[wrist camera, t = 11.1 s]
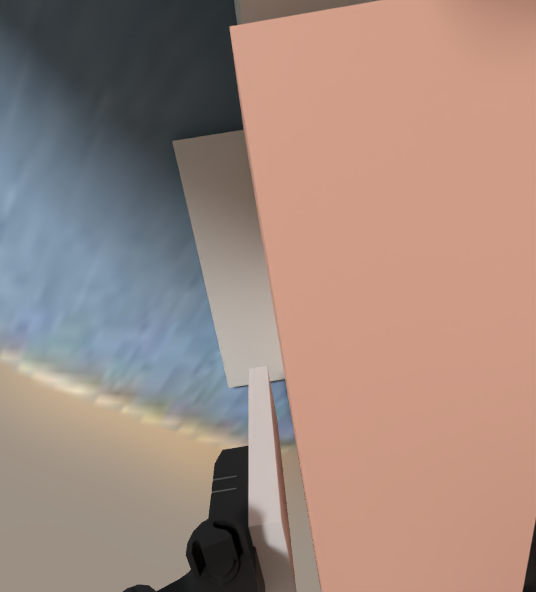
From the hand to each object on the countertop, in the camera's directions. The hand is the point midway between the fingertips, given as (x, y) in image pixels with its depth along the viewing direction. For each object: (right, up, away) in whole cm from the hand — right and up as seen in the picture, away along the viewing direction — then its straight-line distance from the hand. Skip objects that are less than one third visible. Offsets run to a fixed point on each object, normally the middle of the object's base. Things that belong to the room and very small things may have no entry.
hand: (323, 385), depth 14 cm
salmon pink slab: (-1, +4, +1) cm, 4 cm away
